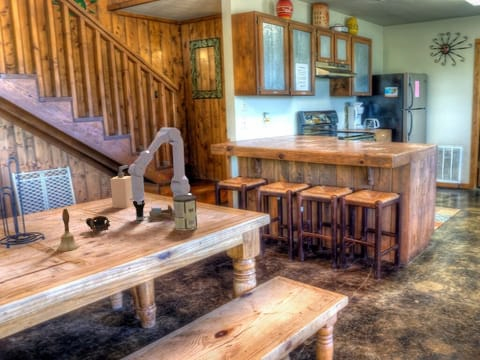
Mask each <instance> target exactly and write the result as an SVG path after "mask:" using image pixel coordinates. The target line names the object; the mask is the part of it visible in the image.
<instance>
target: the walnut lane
mask: <svg viewBox="0 0 480 360" xmlns="http://www.w3.org/2000/svg"><path fill="white" fill-rule="evenodd" d="M173 209H174V208H173V206H171V204H168V205H167V208H165V209H161V214H151V210H149V216H151V217H150V221H151V222H158V221H166V220H174V210H173Z"/></svg>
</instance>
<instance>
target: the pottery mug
mask: <svg viewBox="0 0 480 360" xmlns="http://www.w3.org/2000/svg"><path fill="white" fill-rule="evenodd" d="M110 222H111V221H110V220H109V218H108V217H107V216H104V215H96V216H94V217H92V218H91V217H88V218H86V220H85V224H86V225H87V227H89V228H90V230H92V231H91V232H92V235H97V234H98V233H101V232H105V230H109V227H111V224H110Z"/></svg>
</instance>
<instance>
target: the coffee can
mask: <svg viewBox="0 0 480 360" xmlns="http://www.w3.org/2000/svg"><path fill="white" fill-rule="evenodd" d="M172 202H173V209H174V210H173V220H174V229H175V230H176V231H182V232H184V231H192V230H196V229H197V228H198V217H197V216H198V214H197V196H196V195H180V196H175V197H174V196H173V198H172Z"/></svg>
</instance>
